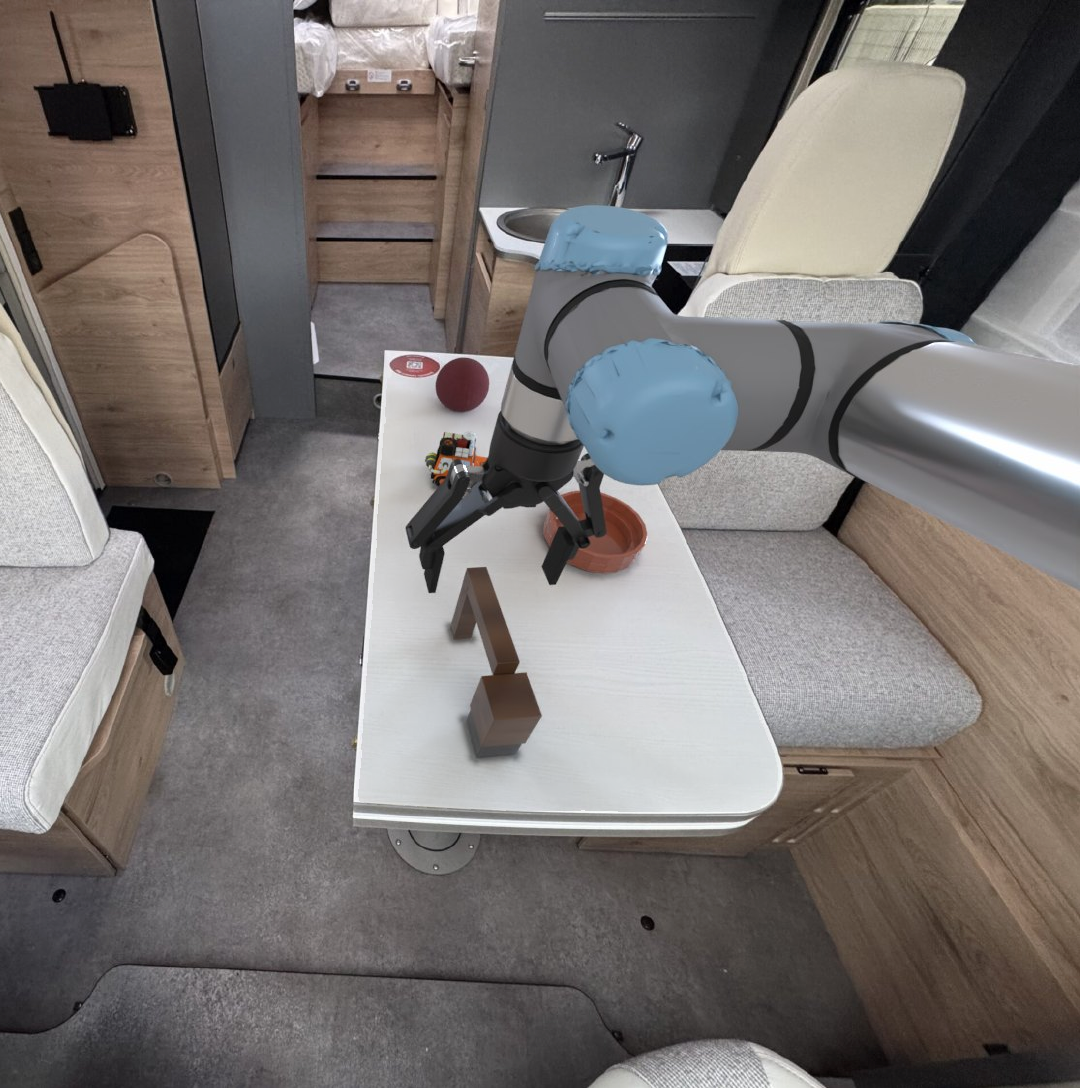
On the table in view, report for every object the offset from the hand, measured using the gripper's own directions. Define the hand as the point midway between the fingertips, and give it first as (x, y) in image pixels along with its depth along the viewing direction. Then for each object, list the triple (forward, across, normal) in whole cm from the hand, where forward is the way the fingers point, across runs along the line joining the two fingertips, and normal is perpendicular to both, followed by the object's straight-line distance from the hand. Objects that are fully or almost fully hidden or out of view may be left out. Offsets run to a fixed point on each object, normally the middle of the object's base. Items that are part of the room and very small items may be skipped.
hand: (489, 579), depth 63 cm
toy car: (+15, -7, -33) cm, 37 cm away
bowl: (+15, -24, -18) cm, 33 cm away
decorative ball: (+15, -12, -54) cm, 58 cm away
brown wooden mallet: (+14, 0, +5) cm, 15 cm away
